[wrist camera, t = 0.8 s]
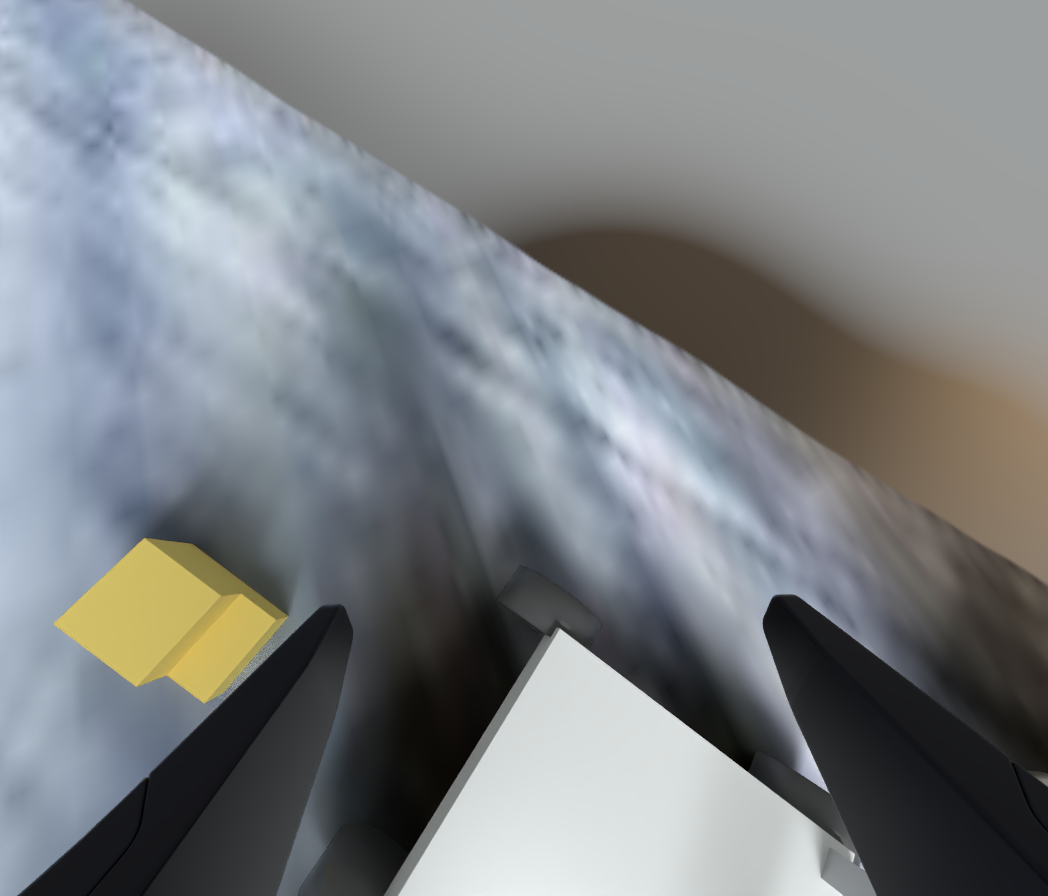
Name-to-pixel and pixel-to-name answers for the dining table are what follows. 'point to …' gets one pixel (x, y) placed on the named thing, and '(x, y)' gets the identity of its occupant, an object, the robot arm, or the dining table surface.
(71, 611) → the yellow step block
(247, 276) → the dining table surface
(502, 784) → the trolley
